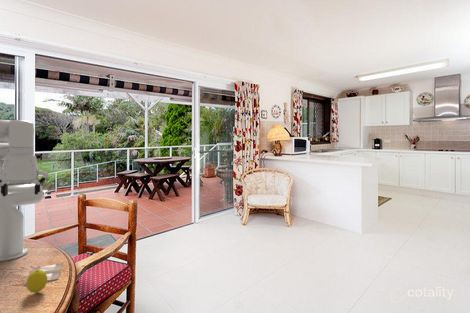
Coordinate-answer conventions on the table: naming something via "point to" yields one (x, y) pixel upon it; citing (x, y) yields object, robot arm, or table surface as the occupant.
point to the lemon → (36, 281)
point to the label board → (50, 271)
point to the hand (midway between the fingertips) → (21, 194)
